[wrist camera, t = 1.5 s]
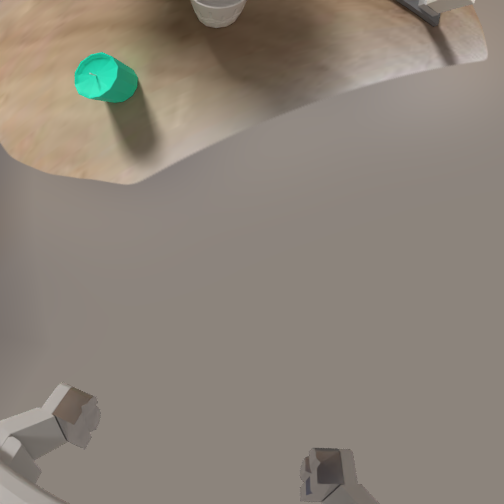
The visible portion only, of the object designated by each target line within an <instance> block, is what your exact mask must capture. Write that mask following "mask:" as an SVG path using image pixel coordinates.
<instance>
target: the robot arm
mask: <svg viewBox="0 0 504 504" xmlns="http://www.w3.org/2000/svg"><path fill="white" fill-rule="evenodd" d="M97 403H98V402H97V399H96V397H95V396H93V395H90V394H88V393H86V392H83V391H81V390H79V389H76V388H75V387H73V386H71V385H68V384H66V383H64V382H62V383H60V384H59V385H58V386H57V388H56V389H55V390H54V392H53V393H52V394H51V396H50V397H49V398H48V400H47V401H46V402H45V404H44V405H43V407H42V408H39V407H37V408H35V409H32V410H29V411H26V412H24V413H21V414H19V415H15V416H13V417H10V418H7V419H4V420H1V421H0V504H69V503H67V502H66V501H64V500H62V499H60V498H58V497H56V496H55V495H53V494H51V493H49V492H48V491H46V490H44V489H43V488H41V487H39V486H38V485H36V482H37V480H38V478H39V476H40V474H41V469H40V468H39V467H38V465H37V464H36V463H35V461H34V460H36V459H38V458H39V457H41V456H43V455H45V454H47V453H49V452H51V451H52V450H54V449H56V448H58V447H59V446H61V445H63V444H65V443H66V442H67V441H68V442H70V443H72V444H74V445H76V446H79V447H81V448H83V449H85V448H86V447H87V445H88V443H89V441H90V439H91V434H90V432H91V431H93V430H96V428H97V426H98V424H99V421H100V409H99V408H98V407H97V406H96V404H97ZM300 478H301V480H302V481H303V482H304V484H303V485H302V486H301V487H300V501H306V502H322V503H321V504H379V503H378V501H376V500H375V498H374V497H373V496H372V495H371V494H370V493H369V492H368V491H367V490H366V489H365V488H364V487H363V485H362V484H358V482H357V475H356V469H355V463H354V456H353V452H352V450H350V449H332V448H312V449H311V450H310V451H309V456H308V457H306V458H305V459H304V460H303V462H302V465H301V470H300Z"/></svg>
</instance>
